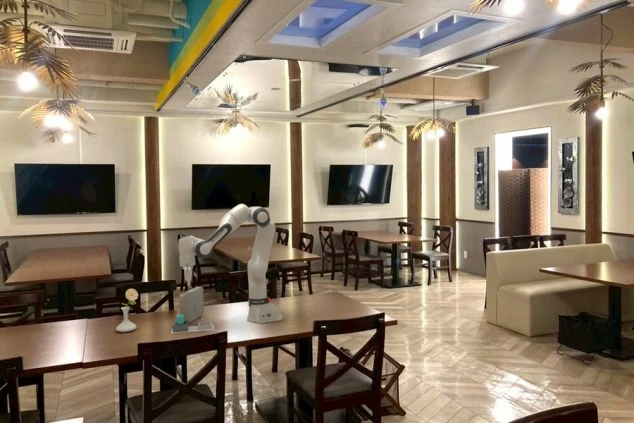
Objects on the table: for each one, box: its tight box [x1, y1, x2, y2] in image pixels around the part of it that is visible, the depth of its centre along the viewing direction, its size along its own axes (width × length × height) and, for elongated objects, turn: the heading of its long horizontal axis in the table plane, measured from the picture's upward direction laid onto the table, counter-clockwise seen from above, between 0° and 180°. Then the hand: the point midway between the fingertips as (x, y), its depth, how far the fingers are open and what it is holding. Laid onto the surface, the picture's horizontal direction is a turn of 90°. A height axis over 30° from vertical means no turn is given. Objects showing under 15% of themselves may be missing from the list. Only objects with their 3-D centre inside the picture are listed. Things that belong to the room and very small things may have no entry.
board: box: [170, 324, 215, 334], centre depth 288 cm, size 24×11×2 cm, turn 103°
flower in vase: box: [115, 288, 139, 333], centre depth 292 cm, size 13×11×25 cm
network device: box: [178, 286, 205, 324], centre depth 308 cm, size 26×9×20 cm, turn 168°
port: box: [171, 320, 189, 333], centre depth 287 cm, size 8×8×4 cm
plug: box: [176, 314, 184, 325], centre depth 287 cm, size 4×4×8 cm
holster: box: [197, 321, 213, 331], centre depth 290 cm, size 8×8×2 cm
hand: (189, 285), depth 292 cm, fingers closed
